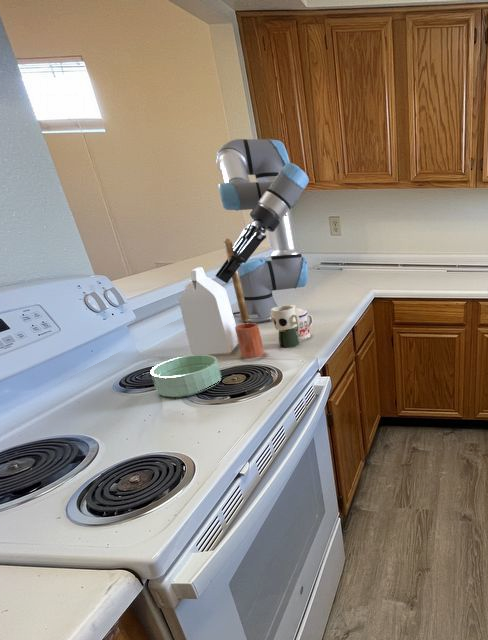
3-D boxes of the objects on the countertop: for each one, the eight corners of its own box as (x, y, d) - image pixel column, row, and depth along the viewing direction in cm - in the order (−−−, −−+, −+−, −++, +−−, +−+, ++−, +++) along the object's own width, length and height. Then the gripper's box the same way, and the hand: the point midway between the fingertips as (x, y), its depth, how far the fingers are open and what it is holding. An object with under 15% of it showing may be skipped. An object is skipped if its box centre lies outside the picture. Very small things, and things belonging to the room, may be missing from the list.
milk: (231, 354, 131) (210, 271, 120) (192, 357, 130) (168, 273, 119) (241, 342, 142) (222, 264, 131) (205, 345, 140) (184, 266, 130)
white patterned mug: (295, 344, 139) (289, 310, 134) (278, 339, 143) (271, 306, 139) (322, 334, 148) (318, 301, 143) (305, 330, 152) (300, 299, 148)
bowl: (149, 388, 110) (141, 367, 107) (208, 370, 120) (202, 350, 118) (170, 405, 100) (162, 382, 98) (232, 383, 111) (227, 363, 108)
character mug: (269, 348, 135) (261, 309, 130) (283, 341, 141) (276, 304, 136) (296, 352, 131) (289, 312, 126) (310, 344, 137) (303, 306, 132)
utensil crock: (238, 357, 129) (231, 326, 124) (258, 351, 133) (251, 321, 129) (248, 362, 125) (241, 330, 121) (268, 356, 129) (261, 325, 125)
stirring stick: (240, 322, 124) (221, 238, 114) (247, 320, 126) (228, 237, 116) (244, 323, 123) (224, 239, 113) (250, 322, 124) (232, 238, 115)
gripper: (289, 223, 117) (240, 291, 114) (270, 220, 127) (226, 283, 125) (266, 203, 111) (215, 275, 109) (249, 203, 122) (202, 268, 119)
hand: (221, 279), depth 117 cm, fingers closed on stirring stick, 2 cm apart
